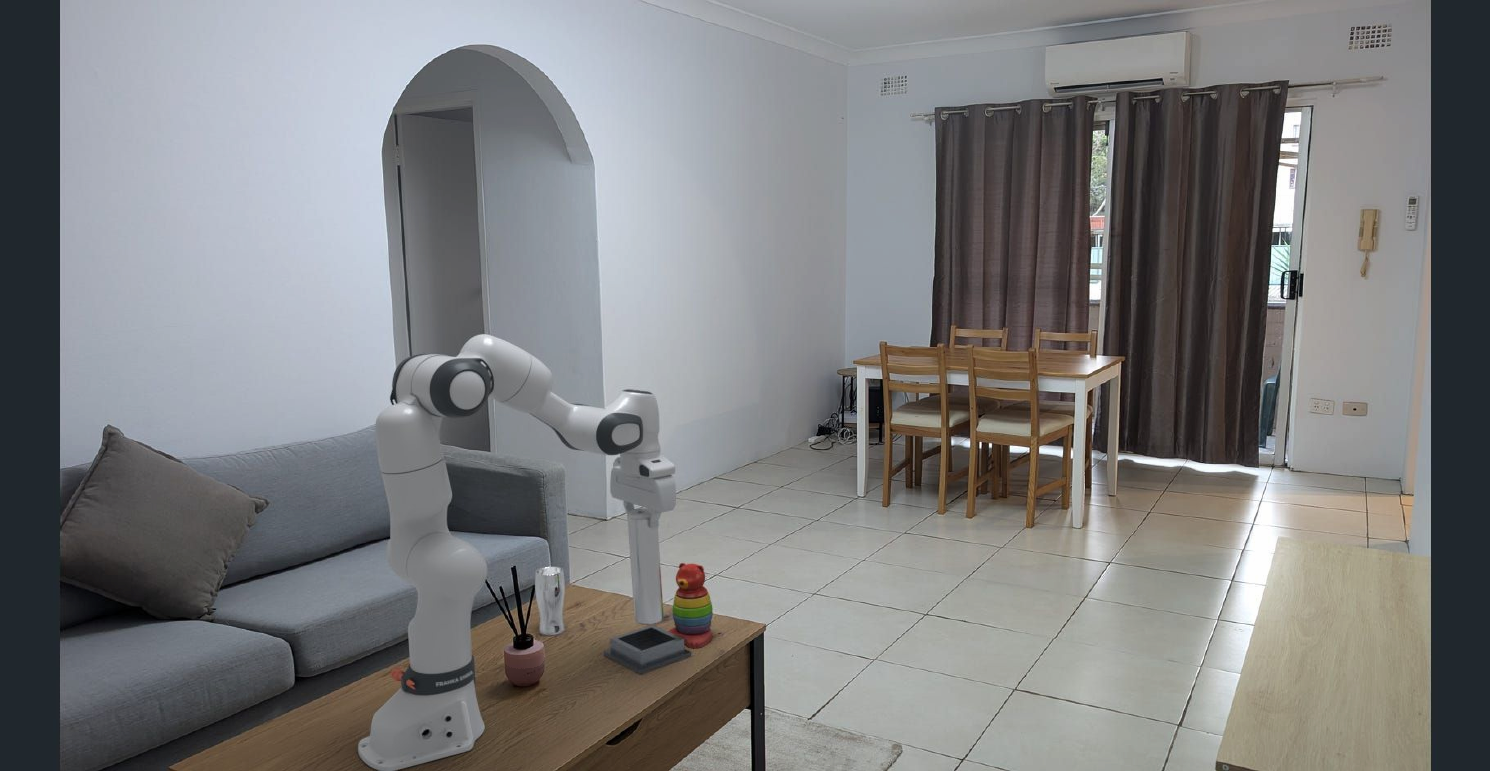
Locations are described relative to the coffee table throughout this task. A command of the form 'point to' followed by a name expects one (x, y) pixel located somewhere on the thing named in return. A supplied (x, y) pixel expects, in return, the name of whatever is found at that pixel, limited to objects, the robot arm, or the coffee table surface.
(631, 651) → the collar
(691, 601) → the stacking bear
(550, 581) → the beer glass
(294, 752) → the coffee table surface
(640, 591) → the grey cylinder
